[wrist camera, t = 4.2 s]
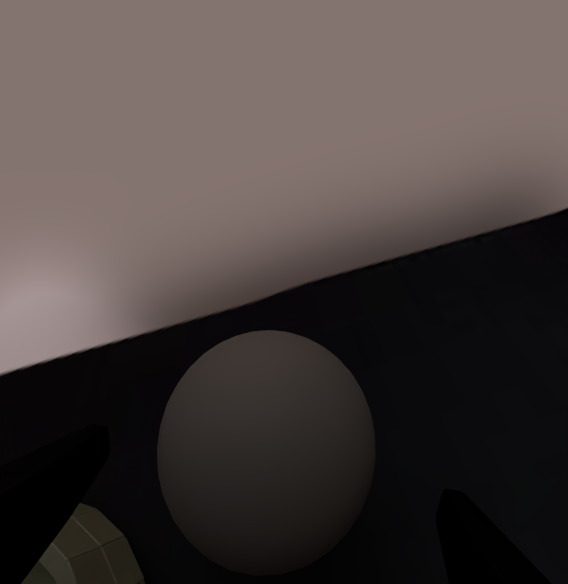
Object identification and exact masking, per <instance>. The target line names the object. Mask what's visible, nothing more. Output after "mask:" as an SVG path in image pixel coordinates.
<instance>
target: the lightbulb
mask: <svg viewBox="0 0 568 584" xmlns="http://www.w3.org/2000/svg"><path fill="white" fill-rule="evenodd" d="M157 457H158V475H159V479H160V484H161V488H162V493H163V497H164V499H165V501H166V504H167V506H168V508H169V511H170V513H171V515H172V517H173V520H174V521H175V523H176V524H177V526H178V527H179V528H180V530H181V531H182V533H183V534H184V535H185V537H186V538H187V540H188V541H189V542H190V543H191V544H192V545H193V546H194V547H195V548H197V549H198V550H199V551H200V552H201V553H202V554H203V555H205V556H206V557H207V558H208V559H209V560H211V561H213V562H215V563H217V564H219V565H221V566H223V567H225V568H227V569H229V570H231V571H236V572H240V573H245V574H250V575H255V576H262V575H279V574H284V573H287V572H290V571H293V570H297V569H300V568H303V567H306V566H308V565H309V564H311V563H312V562H314V561H315V560H317V559H319V558H320V557H322V556H323V555H325V554H326V553H328V552H329V551H330V550H331V549H332V548H333V547H334V546H335V545H336V544H337V543H338V542H339V541H340V540H341V539H342V538H343V537H344V536H345V535H346V534H347V533H348V531H349V530H350V528H351V527H352V525H353V523H354V522H355V520H356V519H357V517H358V515H359V514H360V512H361V511H362V508H363V505H364V503H365V500H366V497H367V495H368V492H369V489H370V487H371V482H372V477H373V471H374V465H375V433H374V428H373V423H372V417H371V412H370V410H369V407H368V405H367V402H366V399H365V397H364V394H363V392H362V390H361V388H360V387H359V385H358V383H357V382H356V380H355V378H354V377H353V375H352V373H351V372H350V371H349V370H348V369H347V368H346V367H345V366H344V364H343V363H342V362H341V361H340V360H339V359H338V358H337V357H336V356H334V355H333V354H332V353H331V352H329V351H328V350H327V349H326V348H324V347H323V346H321V345H319V344H317V343H315V342H313V341H311V340H309V339H308V338H305V337H302V336H299V335H295V334H292V333H289V332H281V331H272V330H268V331H254V332H249V333H245V334H242V335H238V336H235V337H232V338H230V339H228V340H226V341H224V342H222V343H219V344H218V345H216V346H215V347H213V348H212V349H211V350H209V351H208V352H206V353H205V354H203V355H202V356H201V357H200V358H199V359H198V360H197V361H196V362H195V363H194V364H193V365H192V366H191V367H190V368H189V369H188V370H187V372H186V373H185V375H184V376H183V377H182V379H181V380H180V381H179V383H178V384H177V386H176V388H175V390H174V392H173V394H172V395H171V397H170V399H169V401H168V403H167V406H166V409H165V412H164V416H163V419H162V422H161V425H160V432H159V439H158V446H157Z"/></svg>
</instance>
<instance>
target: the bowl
mask: <svg viewBox="0 0 568 584" xmlns="http://www.w3.org/2000/svg"><path fill="white" fill-rule="evenodd" d="M21 584H145V581H144V576H143V574H142V572H141V570H140V567H139V565H138V563H137V561H136V558H135V556H134V554H133V552H132V550H131V547H130V545H129V543H128V541H127V538H126V537H124V534H123V533H122V532H121V531H120V530H119V529H117V528H116V527H115V526H114V525H113V524H112V523H111V522H110V521H109V520H108V519H107V518H106V517H105V516H104V515H103V514H102V513H101V512H100V511H99V510H97V509H96V508H94V507H90V506H87V505H84V504H81V503H79V505H78V506H77V508H76V509H75V511H74V512H73V514H72V515H71V517H70V518H69V520H68V521H67V523H66V524H65V525H64V527H63V528H62V530H61V531H60V532H59V534H58V535H57V536H56V538H55V539H54V540H53V542H52V543H51V544H50V546H49V547H48V548H47V550H46V551H45V552H44V554H43V555H42V556H41V558H40V559H39V560H38V562H37V563H36V564H35V566H34V567H33V569H32V570H31V571H30V573H29V574H28V575H27V577H26V578H25V579H24V581H23V582H22V583H21Z"/></svg>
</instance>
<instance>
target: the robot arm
mask: <svg viewBox="0 0 568 584" xmlns="http://www.w3.org/2000/svg"><path fill="white" fill-rule="evenodd" d="M109 453H110V444H109V435H108V429H107V428H106V427H105V426H101V425H96V424H91V425H89V426H86V427H84V428H82V429H80V430H78V431H75V432H73V433H71V434H69V435H67V436H64V437H62V438H60V439H58V440H56V441H54V442H51V443H49V444H47V445H45V446H43V447H40V448H38V449H36V450H34V451H32V452H29V453H27V454H25V455H23V456H21V457H19V458H16V459H14V460H12V461H10V462H8V463H5V464H3V465H1V466H0V584H21V583H22V582H23V581H24V579H25V578H26V577H27V575H28V574H29V573H30V571H31V570H32V569H33V567H34V566H35V564H36V563H37V562H38V560H39V559H40V558H41V556H42V555H43V554H44V552H45V551H46V550H47V548H48V547H49V546H50V544H51V543H52V542H53V540H54V539H55V538H56V536H57V535H58V534H59V532H60V531H61V530H62V528H63V527H64V525H65V524H66V523H67V521H68V520H69V518H70V517H71V515H72V514H73V512H74V511H75V509H76V508H77V506H78V505H79V503H80V502H81V500H82V498H83V497H84V495H85V494H86V492H87V490H88V489H89V487H90V486H91V484H92V482H93V481H94V479H95V478H96V476H97V475H98V473H99V471H100V470H101V468H102V467H103V465H104V463H105V462H106V460H107V458H108V456H109ZM436 523H437V528H438V533H439V538H440V543H441V547H442V552H443V557H444V562H445V566H446V571H447V576H448V581H449V584H551V583H550V582H549V581H548V580H547V579H546V578H545V576H544V575H543V574H542V573H541V572H540V571H539V570H538V569H537V568H536V567H535V566H534V565H533V564H532V563H531V562H530V561H529V560H528V559H527V558H526V557H525V556H524V555H523V554H522V553H521V552H520V550H519V549H518V548H517V547H516V546H515V545H514V544H513V543H512V542H511V541H510V540H509V539H508V538H507V537H506V536H505V535H504V534H503V533H502V532H501V531H500V530H499V529H498V528H497V527H496V526H495V524H494V523H493V522H492V521H491V520H490V519H489V518H488V517H487V516H486V515H485V514H484V513H483V512H482V511H481V510H480V509H479V508H478V507H477V506H476V505H475V504H474V503H473V502H472V501H471V500H470V498H469V497H468V496H467V495H466V494H464V493H463V492H461V491H456V490H451V489H445V490H444V491H443V492H442V495H441V499H440V502H439V506H438V509H437V513H436Z"/></svg>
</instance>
